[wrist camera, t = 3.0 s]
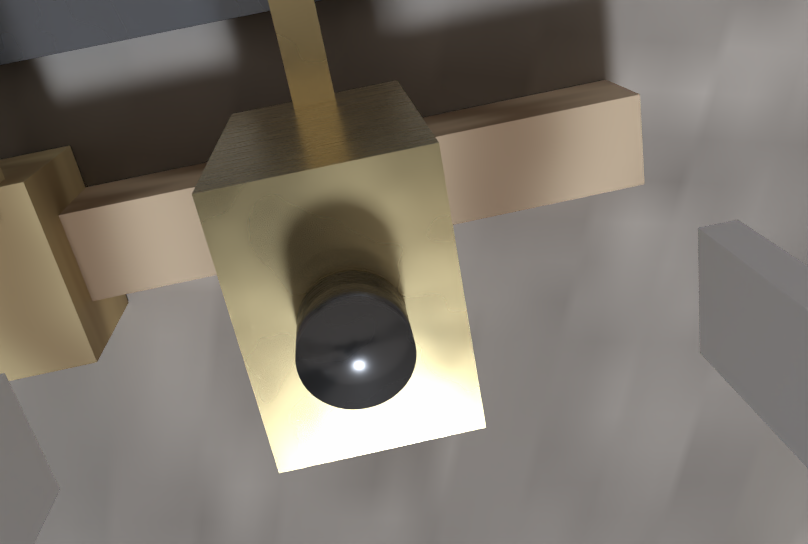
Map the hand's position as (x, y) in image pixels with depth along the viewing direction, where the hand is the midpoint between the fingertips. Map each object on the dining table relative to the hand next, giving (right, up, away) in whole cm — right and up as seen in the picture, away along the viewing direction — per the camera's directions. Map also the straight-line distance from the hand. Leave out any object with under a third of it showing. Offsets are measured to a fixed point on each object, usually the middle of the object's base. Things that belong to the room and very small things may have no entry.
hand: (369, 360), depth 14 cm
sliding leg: (-2, +8, +9) cm, 12 cm away
